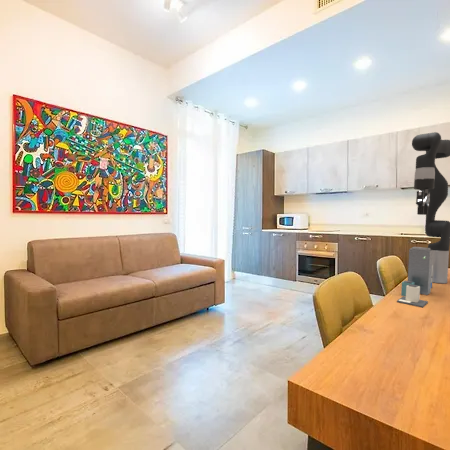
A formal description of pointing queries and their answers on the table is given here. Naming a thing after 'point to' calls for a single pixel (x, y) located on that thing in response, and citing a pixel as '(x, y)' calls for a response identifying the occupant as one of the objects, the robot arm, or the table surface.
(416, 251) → the unit
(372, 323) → the table surface
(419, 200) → the robot arm
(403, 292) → the block
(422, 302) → the pad
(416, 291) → the block
